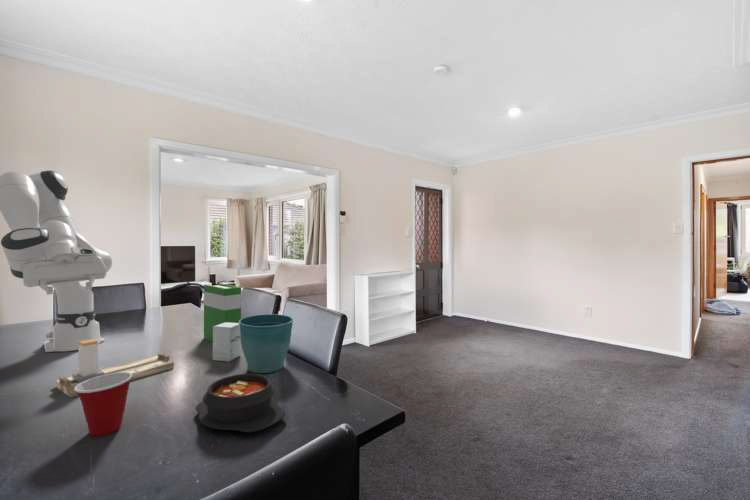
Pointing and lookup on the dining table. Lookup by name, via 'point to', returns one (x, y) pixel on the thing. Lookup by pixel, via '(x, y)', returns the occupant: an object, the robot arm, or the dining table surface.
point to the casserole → (240, 404)
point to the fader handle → (88, 361)
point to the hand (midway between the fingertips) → (70, 290)
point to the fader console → (134, 367)
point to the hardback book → (220, 306)
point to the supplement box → (226, 341)
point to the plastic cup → (104, 401)
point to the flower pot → (265, 341)
